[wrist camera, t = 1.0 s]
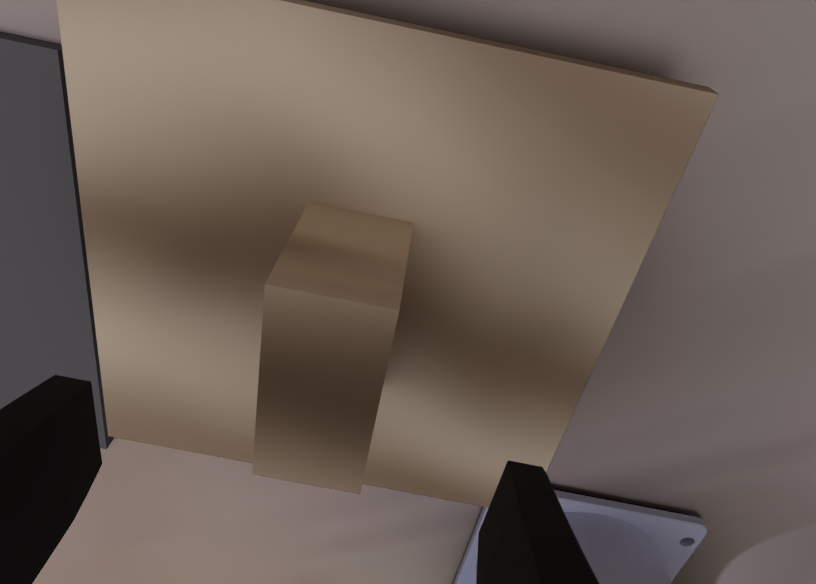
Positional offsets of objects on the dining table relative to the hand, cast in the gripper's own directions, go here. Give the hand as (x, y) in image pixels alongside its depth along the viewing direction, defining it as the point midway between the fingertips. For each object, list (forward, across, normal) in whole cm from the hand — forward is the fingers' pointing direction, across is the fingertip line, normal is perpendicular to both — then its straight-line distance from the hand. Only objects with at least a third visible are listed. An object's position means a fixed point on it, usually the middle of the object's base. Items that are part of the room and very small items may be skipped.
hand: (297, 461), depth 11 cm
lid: (+6, 0, 0) cm, 6 cm away
